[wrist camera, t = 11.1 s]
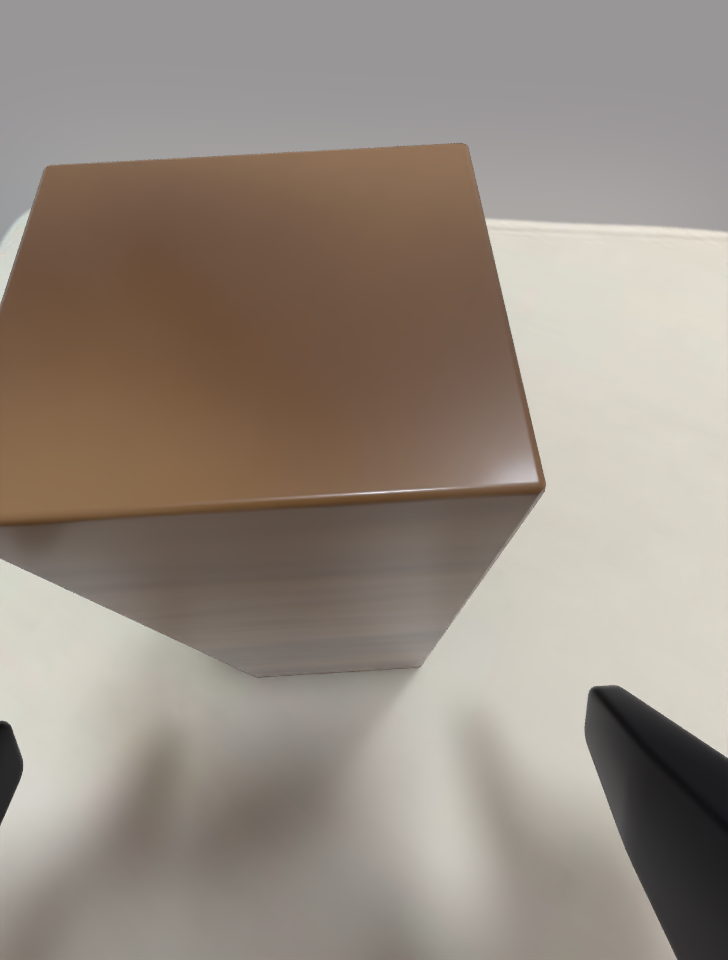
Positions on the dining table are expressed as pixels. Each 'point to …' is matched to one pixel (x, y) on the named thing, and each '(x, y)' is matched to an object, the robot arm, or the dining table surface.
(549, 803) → the dining table surface
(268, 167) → the brown box
